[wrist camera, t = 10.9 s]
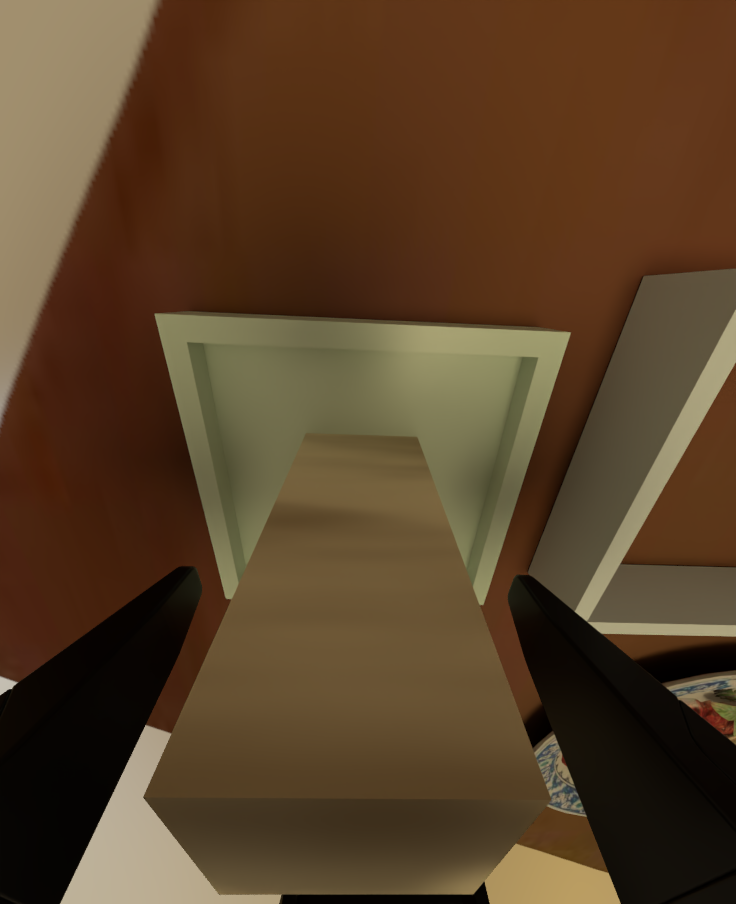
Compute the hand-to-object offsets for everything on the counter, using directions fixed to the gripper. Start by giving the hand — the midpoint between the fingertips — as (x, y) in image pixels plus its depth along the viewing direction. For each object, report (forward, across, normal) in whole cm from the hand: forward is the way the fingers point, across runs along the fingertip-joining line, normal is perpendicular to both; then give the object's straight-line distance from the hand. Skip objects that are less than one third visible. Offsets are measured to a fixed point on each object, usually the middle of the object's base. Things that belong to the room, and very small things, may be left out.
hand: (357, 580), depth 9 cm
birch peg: (+5, 0, 0) cm, 5 cm away
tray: (+6, 0, 0) cm, 6 cm away
